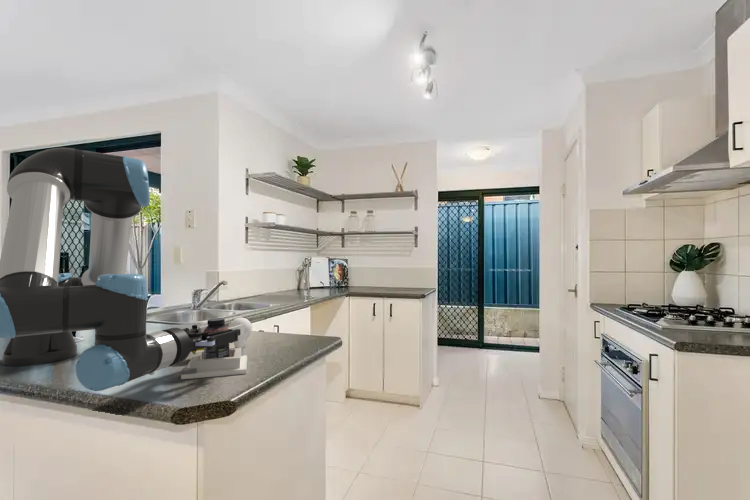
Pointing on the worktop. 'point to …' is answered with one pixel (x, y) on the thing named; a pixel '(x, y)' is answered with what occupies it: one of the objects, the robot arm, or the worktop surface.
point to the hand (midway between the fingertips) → (229, 328)
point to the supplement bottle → (219, 351)
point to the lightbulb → (247, 332)
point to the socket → (215, 365)
